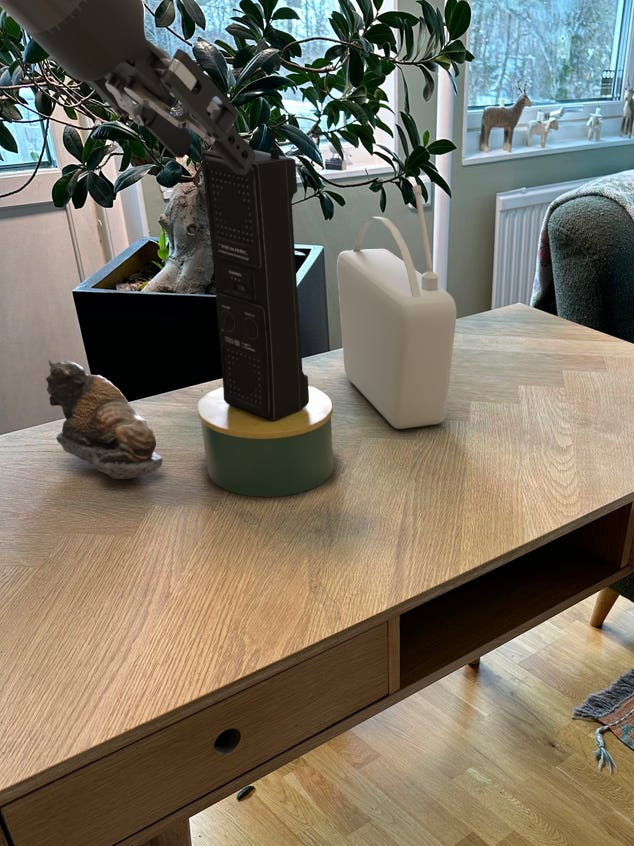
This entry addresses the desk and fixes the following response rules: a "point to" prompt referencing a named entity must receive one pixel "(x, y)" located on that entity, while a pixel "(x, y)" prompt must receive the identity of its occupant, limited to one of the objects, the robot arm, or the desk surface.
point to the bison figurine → (101, 423)
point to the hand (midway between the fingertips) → (215, 157)
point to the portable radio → (256, 282)
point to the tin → (267, 447)
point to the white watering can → (396, 329)
